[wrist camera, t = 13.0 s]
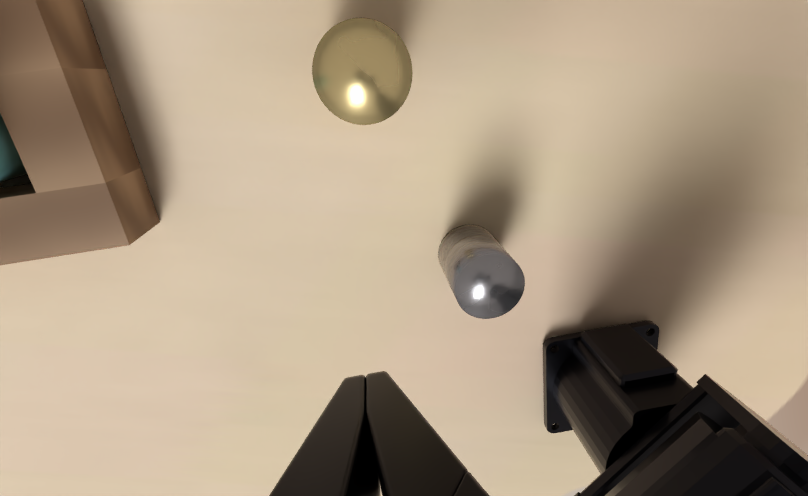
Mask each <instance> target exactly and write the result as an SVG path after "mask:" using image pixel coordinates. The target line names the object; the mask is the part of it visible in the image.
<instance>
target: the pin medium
mask: <svg viewBox="0 0 808 496" xmlns="http://www.w3.org/2000/svg"><path fill="white" fill-rule="evenodd" d="M312 74H313V81H314V85H315V88H316V91H317V93H318V95H319V97H320V99H321V101H322V102H323V103H324V105H325V106H326V107H327V108H328V109H329V110H330V111H331V112H332V113H333V114H334V115H336V116H337V117H339V118H340V119H342V120H344V121H347V122H350V123H353V124H358V125H369V124H375V123H378V122H381V121H384V120H385V119H387V118H389V117H390V116H392V115H393V114H394V113H395V112H397V111H398V110H399V108H400V107H401V106H402V105H403V103H404V101H405V100H406V98H407V96H408V94H409V91H410V87H411V82H412V64H411V59H410V56H409V53H408V50H407V48H406V46H405V44H404V43H403V41H402V40H401V38H400V37H399V36H398V35H397V34H396V33H395V32H394V31H393V30H392V29H391V28H389V27H388V26H387V25H385V24H383V23H381V22H379V21H376V20H373V19H369V18H353V19H348V20H345V21H343V22H340V23H339V24H337V25H335V26H334V27H332V28H331V29H330V30H329V31H328V32H327V33H326V34H325V35H324V36H323V38H322V39H321V41H320V42H319V44H318V46H317V48H316V51H315V54H314V58H313V65H312Z"/></svg>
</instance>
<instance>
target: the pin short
mask: <svg viewBox="0 0 808 496" xmlns="http://www.w3.org/2000/svg"><path fill="white" fill-rule="evenodd" d="M438 258H439V262H440V265H441V267H442V269H443V272H444V274H445V276H446V278H447V280H448V282H449V284H450V287H451V289H452V291H453V293H454V295H455V297H456V299H457V302H458V303H459V305H460V307H461V308H462V309H463V310H464V311H465V312H466V313H468V314H469V315H471V316H474V317H477V318H482V319H490V318H495V317H499V316H501V315H503V314H505V313H507V312H509V311H510V310H511V309H512V308H513V307H514V306H515V305H516V304H517V303H518V302H519V300H520V298H521V296H522V294H523V291H524V286H525V280H524V275H523V272H522V270H521V268H520V267H519V265H518V264H517V263H516V262H515V261H514V260H513V259H512V257H511V256H510V255H509V254H508V253H507V252H506V251H505V249H504V248H503V247H502V246H501V245H500V244H499V243H498V241H497V240H496V239H495V238H494V237H493V236H492V235H491V234H490V232H488V231H487V230H486V229H484V228H483V227H480V226H477V225H463V226H460V227H457V228H455V229H453V230H452V231H450V232H449V233H448V234H447V235H446V236H445V237H444V239H443V240H442V242H441V244H440V247H439V252H438Z"/></svg>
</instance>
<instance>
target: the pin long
mask: <svg viewBox="0 0 808 496" xmlns="http://www.w3.org/2000/svg"><path fill="white" fill-rule="evenodd" d="M25 174H27V172H26V169H25V167H24V165H23V163H22V160H21V158H20V156H19V154H18V151H17V149H16V147H15V145H14V142H13V140H12V138H11V136H10V134H9V131H8V129H7V127H6V125H5V122H4V120H3V118H2V116H1V113H0V182H1V181H4V180H8V179H11V178H14V177H18V176H21V175H25Z"/></svg>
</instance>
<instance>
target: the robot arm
mask: <svg viewBox="0 0 808 496" xmlns="http://www.w3.org/2000/svg"><path fill="white" fill-rule="evenodd" d="M648 329H650V330H649V331H648V332H647V330H648ZM658 337H659V328H658V326H657V325H656V324H654V323H653V322H652V321H642V322H637V323H631V324H622V325H617V326H611V327H605V328H600V329H594V330H588V331H584V332H580V333H574V334H569V335H563V336H557V337H552V338H549V339H547V340H546V341H545V342H544V344H543V375H544V424H545V427H546V428H547V430H548V431H549V432H550V433H558V432H564V431H569V430H574V432H575V433H576V435H577V437H578V438H579V440H580V441H581V443H582V445H583V446H584V448H585V449H586V451H587V453H588V454H589V456H590V457H591V459H592V461H593V462H594V464H595V465H596V467H597V469H598V470H599V472H600V473H601V475H599V476H598V477H597V478H596V479H595V480H594V481H593V482H592V483H591V484H590V485H589V486H588V487H587V488H585V489H584V490H583V491H582V492H581V493H579V492H578V493H577V494H576V495H575V496H808V455H807V454H806V453H804V452H803V451H802V450H801V449H800V448H798V447H797V446H796V445H795V444H793V443H792V442H791V441H790V440H789V439H787V438H786V437H785V436H784V435H782V434H781V433H780V432H779V431H778V430H776V429H775V428H774V427H773V426H772V425H770V424H769V423H768V422H767V421H765V420H764V419H763V418H762V417H760V416H759V415H758V414H757V413H755V412H754V411H753V410H751V409H750V408H749V407H748V406H746V405H745V404H744V403H742V402H741V401H740V400H738V399H737V398H736V397H735V396H733V395H732V394H731V393H729V392H728V391H727V390H726V389H724V388H723V387H722V386H720V385H719V384H718V383H716V382H715V381H714V380H713V379H711V378H710V377H709V376H707V375H706V374H705V375H704V376H703V377H702V378H701V379H699V380H698V381H697V383H698V385H697V386H696V387H694V388H693V387H692V386H691V385H689V384H688V383H687V382H686V381H685V380H684V379H683V378H682V377H681V376H680V375H679V374H677V368H676V367H675V366H674V365H673V364H672V363H671V362H669V361H668V360H667V359H666V358H665V357H664V356H663V355H662V354H661V353H659V352H658V351H657V347H658ZM554 345H556V347H555V348H553V349H551V347H552V346H554ZM554 423H555V424H554ZM553 424H554V425H553ZM380 486H381V491H382V495H383V496H489V495H488V493H487V492H486V491H485V490H484V489H483V488H482V487H481V485H480V484H479V483H478V482H477V481H476V479H475V478H474V477H473V476H472V475H471V473H469V472H468V471H467V469H466V468H465V466H464V465H463V464H462V463H461V462H460V460H459V459H458V458H457V457H456V456H455V454H454V453H453V452H452V451H451V449H450V448H449V447H448V446H447V445H446V443H445V442H444V441H443V440H442V439H441V437H440V436H439V435H438V434H437V433H436V431H435V430H434V429H433V428H432V426H431V425H430V424H429V423H428V422H427V420H426V419H425V418H424V417H423V416H422V414H421V413H420V412H419V411H418V410H417V408H416V407H415V406H414V405H413V403H412V402H411V401H410V400H409V399H408V397H407V396H406V395H405V394H404V393H403V391H402V390H401V389H400V388H399V387H398V385H397V384H396V383H395V382H394V380H393V379H392V378H391V377H390V376H389V374H388V373H387V372H385V371H382V372H376V373H371V374H368V375H367V376H366V377H365V376H364V375H359V376H353V377H348V378H345V379H344V380H343V382H342V384H341V385H340V387H339V388H338V390H337V391H336V393H335V394H334V396H333V398H332V399H331V401H330V402H329V404H328V405H327V407H326V408H325V410H324V411H323V413H322V415H321V416H320V418H319V419H318V421H317V422H316V424H315V425H314V427H313V429H312V430H311V432H310V433H309V435H308V436H307V438H306V439H305V441H304V443H303V444H302V446H301V447H300V449H299V450H298V452H297V453H296V455H295V456H294V458H293V460H292V461H291V463H290V464H289V466H288V467H287V469H286V470H285V472H284V474H283V475H282V477H281V478H280V480H279V481H278V483H277V484H276V486H275V488H274V489H273V491H272V492H271V494H270V495H269V496H380Z"/></svg>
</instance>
